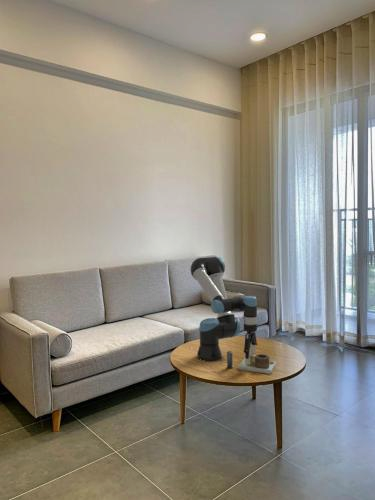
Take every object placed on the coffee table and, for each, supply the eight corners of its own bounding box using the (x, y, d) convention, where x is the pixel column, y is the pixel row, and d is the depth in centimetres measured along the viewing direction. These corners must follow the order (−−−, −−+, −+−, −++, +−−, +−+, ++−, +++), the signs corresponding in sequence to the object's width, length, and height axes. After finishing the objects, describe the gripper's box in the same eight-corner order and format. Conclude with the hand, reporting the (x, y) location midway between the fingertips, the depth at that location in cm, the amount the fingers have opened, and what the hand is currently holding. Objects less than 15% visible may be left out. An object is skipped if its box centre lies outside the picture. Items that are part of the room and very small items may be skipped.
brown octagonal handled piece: (270, 365, 219) (270, 354, 219) (267, 369, 212) (267, 359, 212) (248, 362, 224) (248, 352, 224) (245, 366, 217) (245, 356, 217)
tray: (238, 369, 215) (238, 365, 215) (245, 360, 229) (245, 357, 228) (271, 373, 208) (271, 370, 208) (276, 364, 221) (276, 361, 221)
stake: (226, 368, 218) (226, 352, 217) (228, 366, 220) (227, 351, 220) (231, 368, 216) (231, 353, 216) (233, 367, 219) (232, 351, 218)
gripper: (249, 317, 231) (249, 352, 233) (237, 328, 208) (238, 366, 210) (261, 318, 228) (261, 353, 230) (251, 329, 205) (251, 368, 207)
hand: (250, 359), depth 220 cm, fingers open, 13 cm apart
